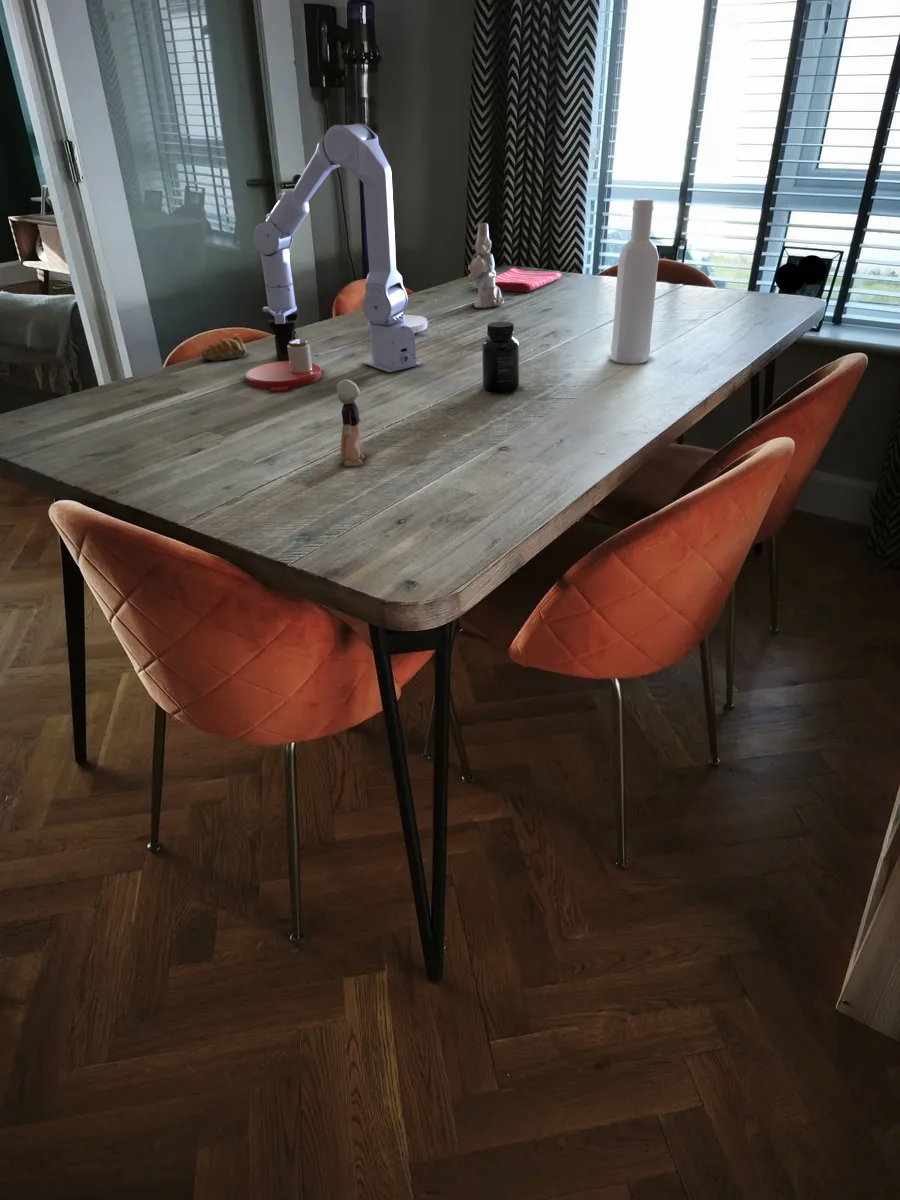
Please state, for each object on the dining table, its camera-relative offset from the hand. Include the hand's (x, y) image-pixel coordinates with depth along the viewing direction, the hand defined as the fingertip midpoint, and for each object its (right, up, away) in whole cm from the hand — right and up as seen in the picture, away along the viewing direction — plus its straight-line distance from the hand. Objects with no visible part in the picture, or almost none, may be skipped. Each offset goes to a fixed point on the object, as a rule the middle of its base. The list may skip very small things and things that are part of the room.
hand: (287, 350), depth 175 cm
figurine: (+45, +24, +39) cm, 65 cm away
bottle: (+73, -4, -8) cm, 74 cm away
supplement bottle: (+45, -15, -23) cm, 53 cm away
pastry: (-14, -1, +2) cm, 14 cm away
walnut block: (0, -1, +1) cm, 1 cm away
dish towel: (+56, +39, +63) cm, 93 cm away
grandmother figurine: (+21, -34, -52) cm, 65 cm away
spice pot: (+5, -8, -13) cm, 16 cm away
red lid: (+2, -9, -13) cm, 16 cm away
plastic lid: (+23, +10, +17) cm, 30 cm away
